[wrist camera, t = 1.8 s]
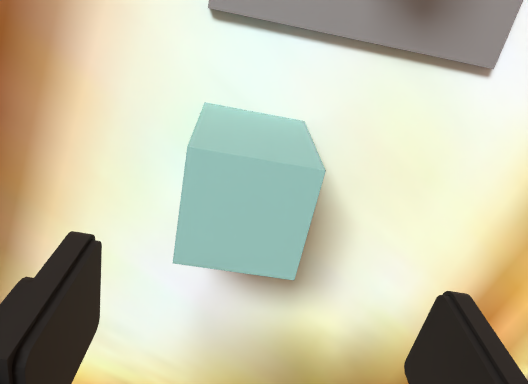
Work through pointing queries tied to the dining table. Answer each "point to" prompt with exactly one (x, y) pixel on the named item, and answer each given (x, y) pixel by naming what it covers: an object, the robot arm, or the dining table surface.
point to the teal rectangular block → (247, 193)
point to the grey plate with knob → (398, 23)
